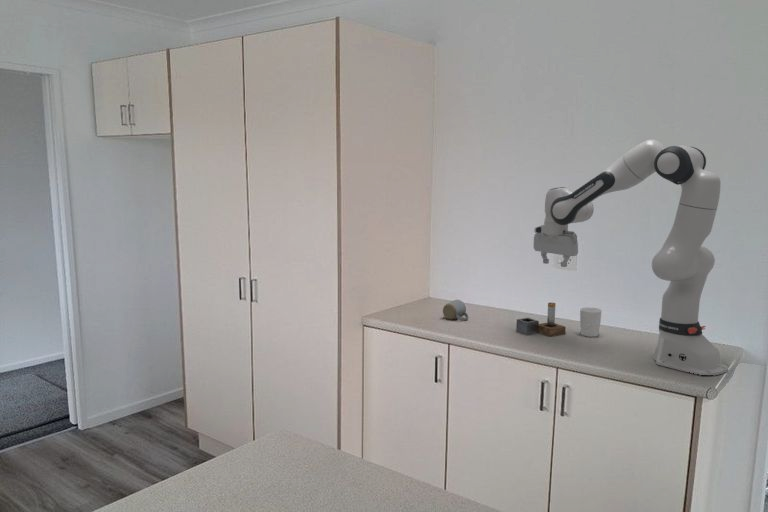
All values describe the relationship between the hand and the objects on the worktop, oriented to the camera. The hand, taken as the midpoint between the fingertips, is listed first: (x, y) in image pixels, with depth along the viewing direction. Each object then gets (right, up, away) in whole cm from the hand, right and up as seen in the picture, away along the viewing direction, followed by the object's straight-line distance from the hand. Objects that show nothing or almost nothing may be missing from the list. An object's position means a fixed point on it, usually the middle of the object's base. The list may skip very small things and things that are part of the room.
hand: (554, 265), depth 228 cm
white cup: (+14, -28, +2) cm, 31 cm away
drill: (0, -27, +4) cm, 27 cm away
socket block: (-10, -27, +5) cm, 29 cm away
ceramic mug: (-35, -24, +27) cm, 50 cm away
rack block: (-1, -27, +4) cm, 27 cm away
